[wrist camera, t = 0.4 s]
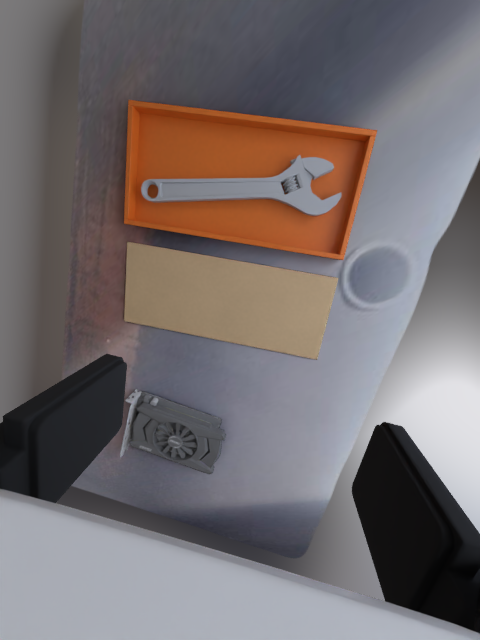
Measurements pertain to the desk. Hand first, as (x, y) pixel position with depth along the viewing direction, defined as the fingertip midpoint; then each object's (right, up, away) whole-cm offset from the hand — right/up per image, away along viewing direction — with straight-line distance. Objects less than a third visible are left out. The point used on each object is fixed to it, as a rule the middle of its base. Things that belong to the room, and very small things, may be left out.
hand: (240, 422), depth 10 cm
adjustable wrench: (0, +21, +25) cm, 33 cm away
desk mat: (-2, +7, +29) cm, 30 cm away
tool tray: (0, +21, +25) cm, 33 cm away
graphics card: (-11, -16, +36) cm, 41 cm away
